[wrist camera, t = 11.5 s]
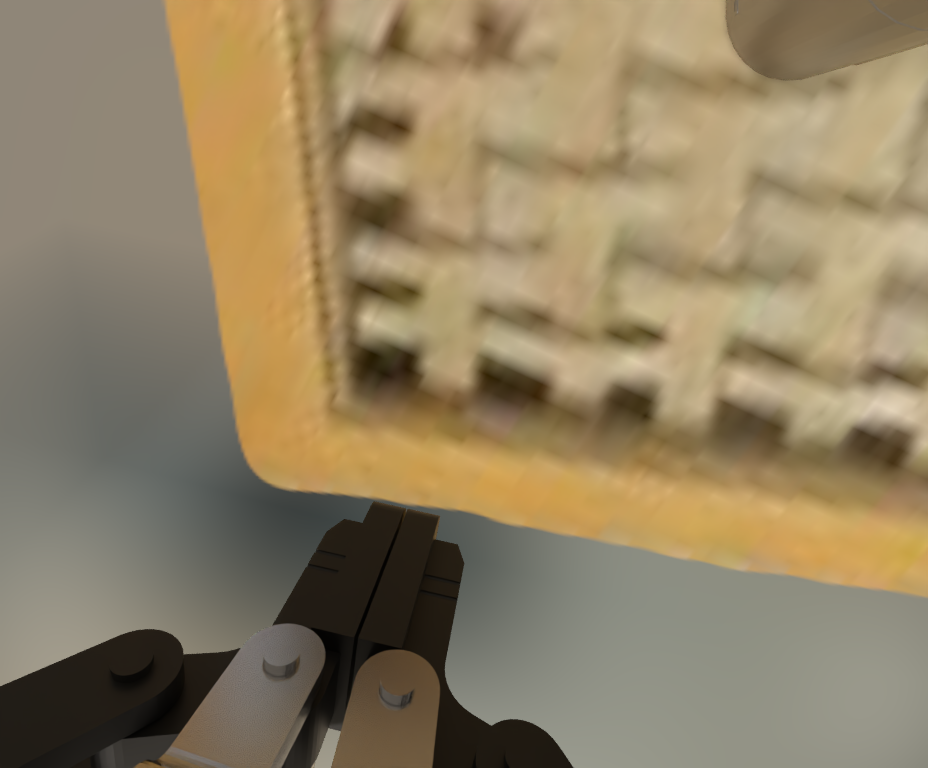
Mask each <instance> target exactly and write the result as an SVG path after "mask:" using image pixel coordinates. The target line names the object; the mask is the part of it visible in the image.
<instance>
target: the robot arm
mask: <svg viewBox="0 0 928 768" xmlns="http://www.w3.org/2000/svg"><path fill="white" fill-rule="evenodd" d="M726 22H727V28H728V34H729V37H730V39H731V41H732V44H733V46H734V49H735V50H736V52H737V53H738V55H739V56H740V57H741V59H742V60H743V61H744V62H745V63H746V64H747V65H748V66H749V67H751V68H752V69H753V70H754V71H756V72H758V73H760V74H762V75H765V76H767V77H769V78H774V79H780V80H800V79H805V78H808V77H812V76H815V75H819V74H822V73H825V72H829V71H832V70H836V69H839V68H843V67H846V66H850V65H859V64H863V63H866V62H869V61H873V60H876V59H879V58H883V57H886V56H889V55H893V54H896V53H899V52H902V51H906V50H909V49H912V48H916V47H919V46H922V45H926V44H928V0H726ZM439 520H440V516H438V515H433V514H429V513H424V512H420V511H415V510H411V509H408V510H407V512H406V509H405V508H401V507H397V506H393V505H388V504H384V503H379V502H375V501H374V502H373V503H372V505H371V507H370V509H369V511H368V513H367V515H366V517H365V519H364V521H363V523H360V522H355V521H351V520H346V519H344V520H342V521H341V522H340V523H338V524H337V525H335V526H334V527H333V528H331V529H330V530H328V531H327V532H326V534H325V536H324V537H323V539H322V541H321V542H320V544H319V546H318V548H317V549H316V553H314V555H313V556H312V558H311V560H310V561H309V563H308V566H307V567H306V568H305V570H304V572H303V573H302V576H301V577H300V579H299V580H298V582H297V584H296V586H295V587H294V589H293V591H292V593H291V595H290V596H289V598H288V599H287V601H286V603H285V605H284V606H283V608H282V610H281V612H280V613H279V615H278V617H277V619H276V621H275V622H274V623H273V625H272V626H270V627H267V628H265V629H263V630H260V631H259V632H257V633H256V634H254V635H253V636H252V637H251V638H249V639H248V640H247V641H246V642H245V644H244V645H243V646H242V647H241V648H239V649H236V650H231V651H228V652H219V653H202V654H185V655H184V654H183V648H182V646H181V643H180V642H179V641H178V639H176V638H175V637H174V636H173V635H171V634H169V633H167V632H164V631H161V630H154V629H145V630H136V631H132V632H128V633H125V634H123V635H120V636H117V637H115V638H113V639H110V640H108V641H106V642H103V643H101V644H99V645H96V646H94V647H91V648H89V649H87V650H84V651H82V652H80V653H77V654H75V655H73V656H70V657H68V658H66V659H64V660H61V661H59V662H56V663H54V664H52V665H49V666H47V667H45V668H42V669H40V670H38V671H35V672H33V673H31V674H28V675H26V676H24V677H21V678H19V679H17V680H14V681H12V682H10V683H7V684H5V685H3V686H0V768H314V766H315V760H316V759H317V756H318V754H319V751H320V749H321V746H322V743H323V741H324V738H325V735H326V733H327V730H328V728H330V729H335V730H339V731H341V733H340V737H339V741H338V744H337V748H336V752H335V755H334V759H333V763H332V766H331V768H573V767H572V765H571V763H570V762H569V761H568V759H567V758H566V756H565V755H564V753H563V752H562V750H561V749H560V747H559V746H558V744H557V743H556V742H555V741H554V739H553V738H552V737H551V736H550V735H549V734H548V733H547V732H545V731H544V730H542V729H541V728H539V727H538V726H536V725H534V724H532V723H530V722H527V721H523V720H518V719H514V720H513V719H510V720H503V721H500V722H498V723H496V724H494V725H492V726H491V725H489V724H487V723H486V722H484V721H482V720H481V719H479V718H478V717H476V716H474V715H473V714H471V713H470V712H468V711H467V710H466V709H464V708H463V707H462V706H461V705H460V704H459V703H458V702H457V700H456V699H455V698H454V696H453V695H452V693H451V691H450V690H449V687H448V685H447V682H446V678H445V660H446V656H447V651H448V645H449V640H450V635H451V630H452V624H453V619H454V614H455V609H456V603H457V598H458V593H459V588H460V582H461V577H462V572H463V566H464V561H463V558H462V555H461V552H460V550H459V547H458V545H457V544H453V543H448V542H444V541H440V540H436V536H437V531H438V525H439Z"/></svg>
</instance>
